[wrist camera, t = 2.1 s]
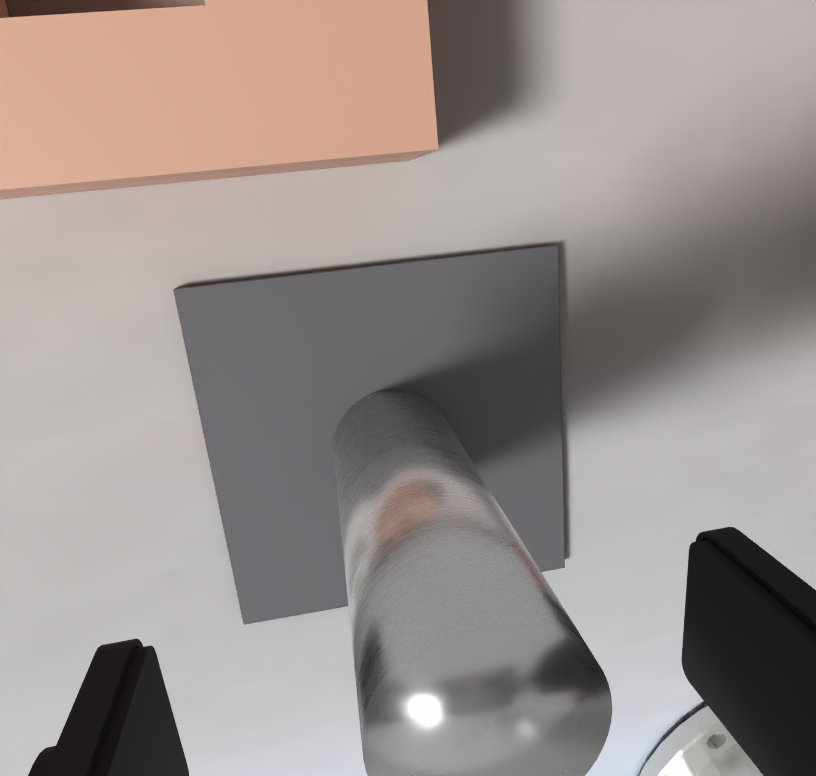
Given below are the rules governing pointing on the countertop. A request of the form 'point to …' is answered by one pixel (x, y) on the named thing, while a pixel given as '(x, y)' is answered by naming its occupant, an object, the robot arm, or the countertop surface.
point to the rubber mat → (360, 376)
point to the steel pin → (452, 612)
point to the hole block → (211, 92)
